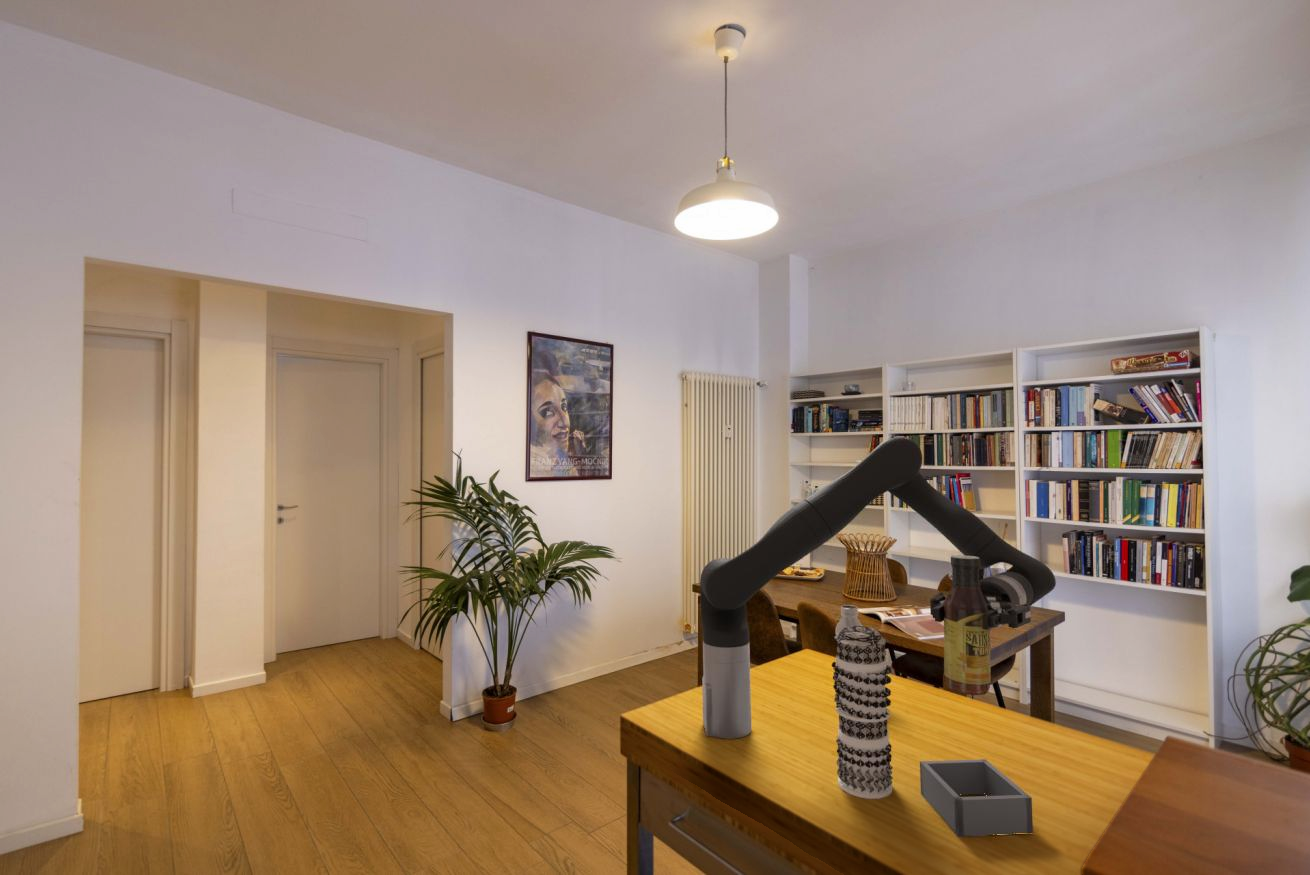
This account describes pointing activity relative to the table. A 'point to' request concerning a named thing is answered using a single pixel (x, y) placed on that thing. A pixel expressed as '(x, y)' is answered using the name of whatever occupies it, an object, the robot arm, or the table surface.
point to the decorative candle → (862, 713)
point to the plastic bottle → (847, 619)
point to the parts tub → (975, 798)
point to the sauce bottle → (966, 630)
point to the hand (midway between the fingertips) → (960, 618)
